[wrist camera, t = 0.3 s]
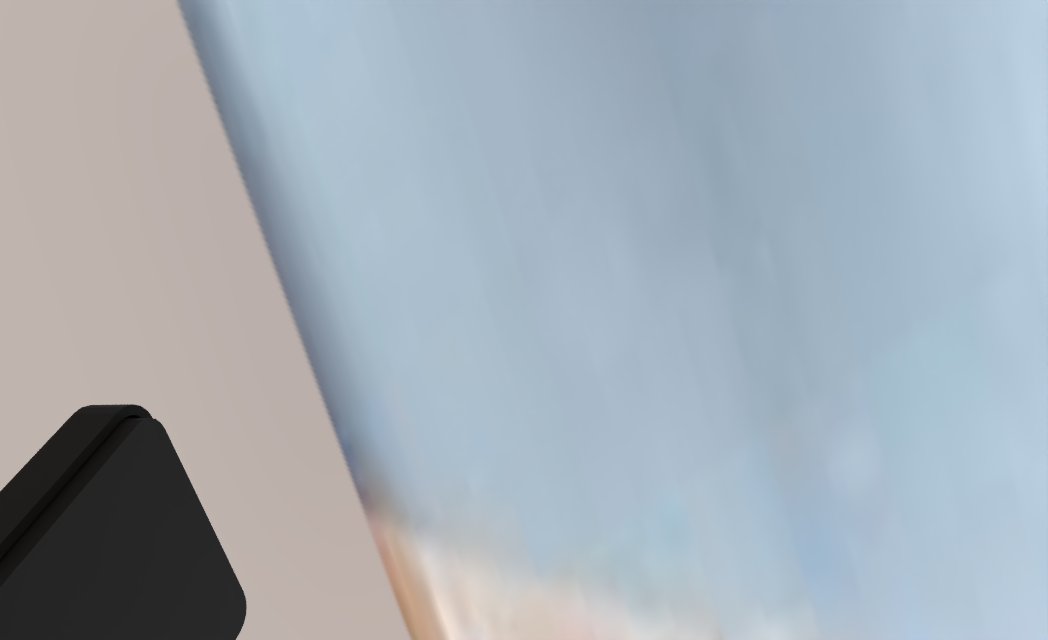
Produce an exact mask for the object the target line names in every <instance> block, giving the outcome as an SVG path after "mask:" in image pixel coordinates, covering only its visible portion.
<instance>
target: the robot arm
mask: <svg viewBox="0 0 1048 640" xmlns="http://www.w3.org/2000/svg"><path fill="white" fill-rule="evenodd" d="M245 616H246V599H245V595H244V592H243V590H242V588H241V586H240V584H239V581H238V579H237V577H236V575H235V573H234V572H233V569H232V567H231V565H230V563H229V561H228V559H227V556H226V555H225V552H224V550H223V548H222V546H221V544H220V542H219V540H218V538H217V536H216V534H215V532H214V530H213V527H212V526H211V523H210V521H209V519H208V517H207V515H206V513H205V511H204V509H203V507H202V505H201V503H200V501H199V499H198V496H197V494H196V492H195V490H194V488H193V486H192V484H191V482H190V480H189V478H188V476H187V474H186V472H185V469H184V467H183V465H182V463H181V462H180V459H179V457H178V455H177V453H176V451H175V449H174V447H173V445H172V443H171V440H170V439H169V436H168V434H167V433H166V430H165V428H164V427H163V425H162V424H161V423H160V422H159V421H157V420H156V419H153V418H152V416H151V415H150V413H149V412H148V411H147V410H146V409H144V408H143V407H141V406H138V405H90V406H86V407H82V408H81V409H79V410H78V411H77V412H75V413H74V414H73V415H72V416H71V417H70V418H69V419H68V420H67V421H66V422H65V423H64V424H63V426H62V427H61V428H60V429H59V430H58V431H57V432H56V433H55V434H54V435H53V436H52V437H51V438H50V439H49V440H48V441H47V443H46V444H45V445H44V446H43V447H42V448H41V449H40V450H39V451H38V452H37V453H36V454H35V455H34V456H33V457H32V458H31V459H30V461H29V462H28V463H27V464H26V465H25V466H24V467H23V468H22V469H21V470H20V471H19V472H18V473H17V474H16V476H15V477H14V478H13V479H12V480H11V481H10V482H9V483H8V484H7V485H6V486H5V487H4V488H3V489H2V490H1V491H0V640H236V638H237V636H238V635H239V633H240V631H241V629H242V626H243V624H244V620H245Z"/></svg>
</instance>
